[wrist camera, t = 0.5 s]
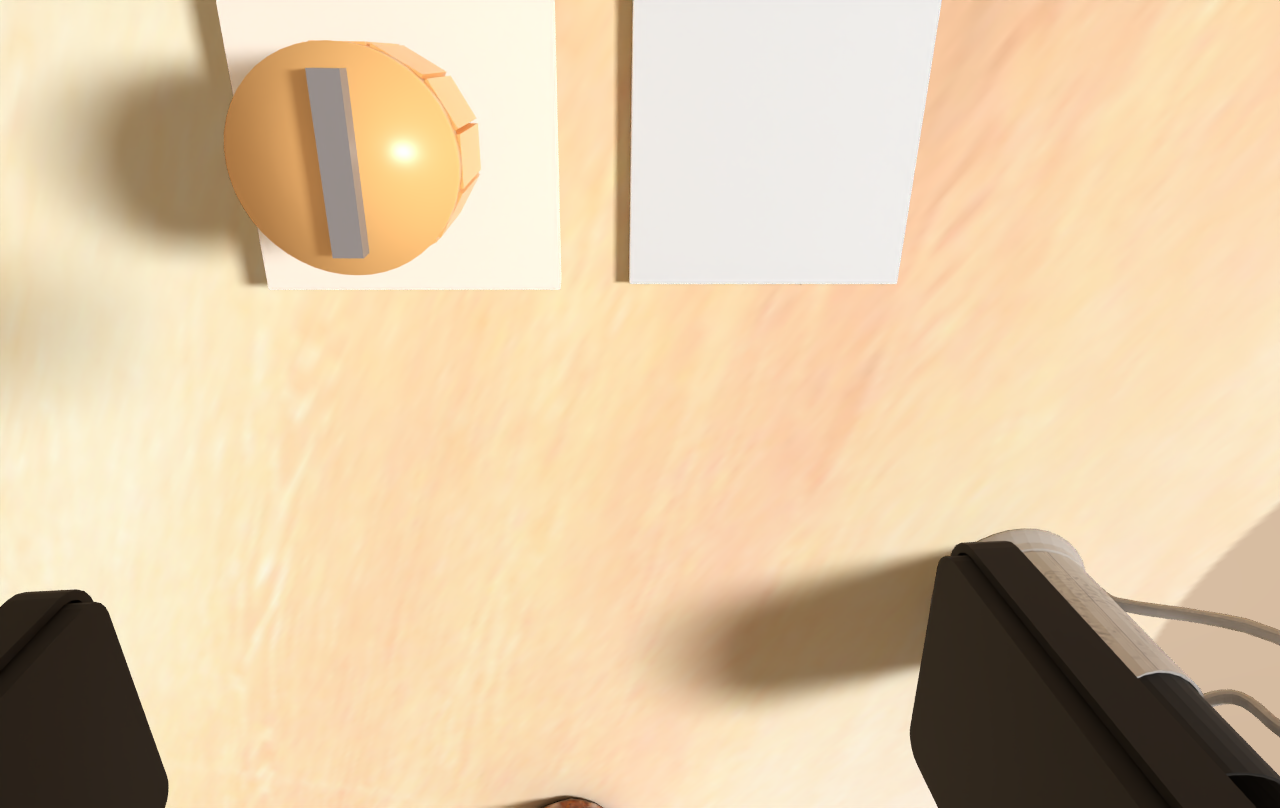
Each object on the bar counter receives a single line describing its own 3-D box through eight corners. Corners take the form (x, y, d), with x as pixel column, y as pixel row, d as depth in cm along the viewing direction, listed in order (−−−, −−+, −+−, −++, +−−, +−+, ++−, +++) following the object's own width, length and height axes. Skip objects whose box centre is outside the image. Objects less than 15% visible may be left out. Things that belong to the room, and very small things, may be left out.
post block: (225, -40, 28) (92, -76, 21) (554, -30, 29) (544, -62, 21) (281, 280, 33) (190, 347, 25) (561, 280, 34) (555, 345, 26)
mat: (632, -28, 29) (634, -30, 29) (938, -19, 30) (945, -21, 30) (628, 280, 34) (629, 283, 34) (891, 280, 35) (896, 283, 35)
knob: (274, 41, 26) (189, 36, 20) (472, 45, 26) (443, 42, 21) (306, 237, 29) (238, 281, 23) (485, 238, 29) (462, 281, 23)
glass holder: (915, 561, 42) (1077, 805, 28) (1176, 471, 41) (1477, 681, 27) (947, 674, 45) (1104, 940, 32) (1187, 595, 44) (1458, 835, 30)
